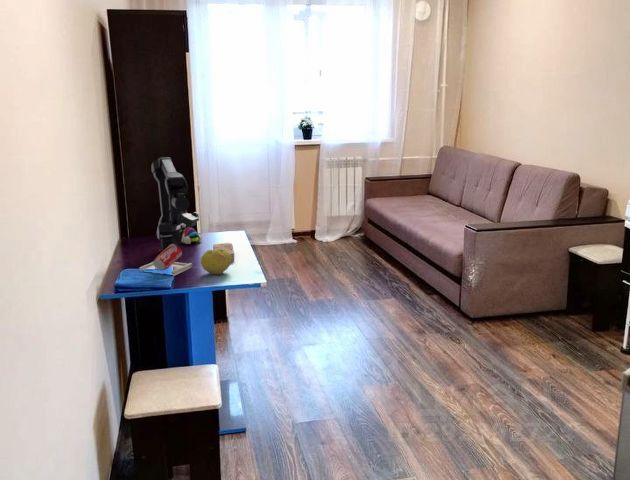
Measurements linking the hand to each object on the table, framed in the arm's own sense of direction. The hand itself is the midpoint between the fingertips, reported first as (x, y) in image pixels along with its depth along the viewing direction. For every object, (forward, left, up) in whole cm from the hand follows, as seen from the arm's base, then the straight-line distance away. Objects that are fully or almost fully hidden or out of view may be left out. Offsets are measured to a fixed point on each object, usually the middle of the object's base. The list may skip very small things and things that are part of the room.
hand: (178, 244), depth 244 cm
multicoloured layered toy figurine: (-15, +31, -8) cm, 36 cm away
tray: (0, -9, -8) cm, 12 cm away
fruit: (+22, -7, -8) cm, 25 cm away
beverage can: (+1, -3, -1) cm, 4 cm away
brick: (+12, +14, -9) cm, 21 cm away
